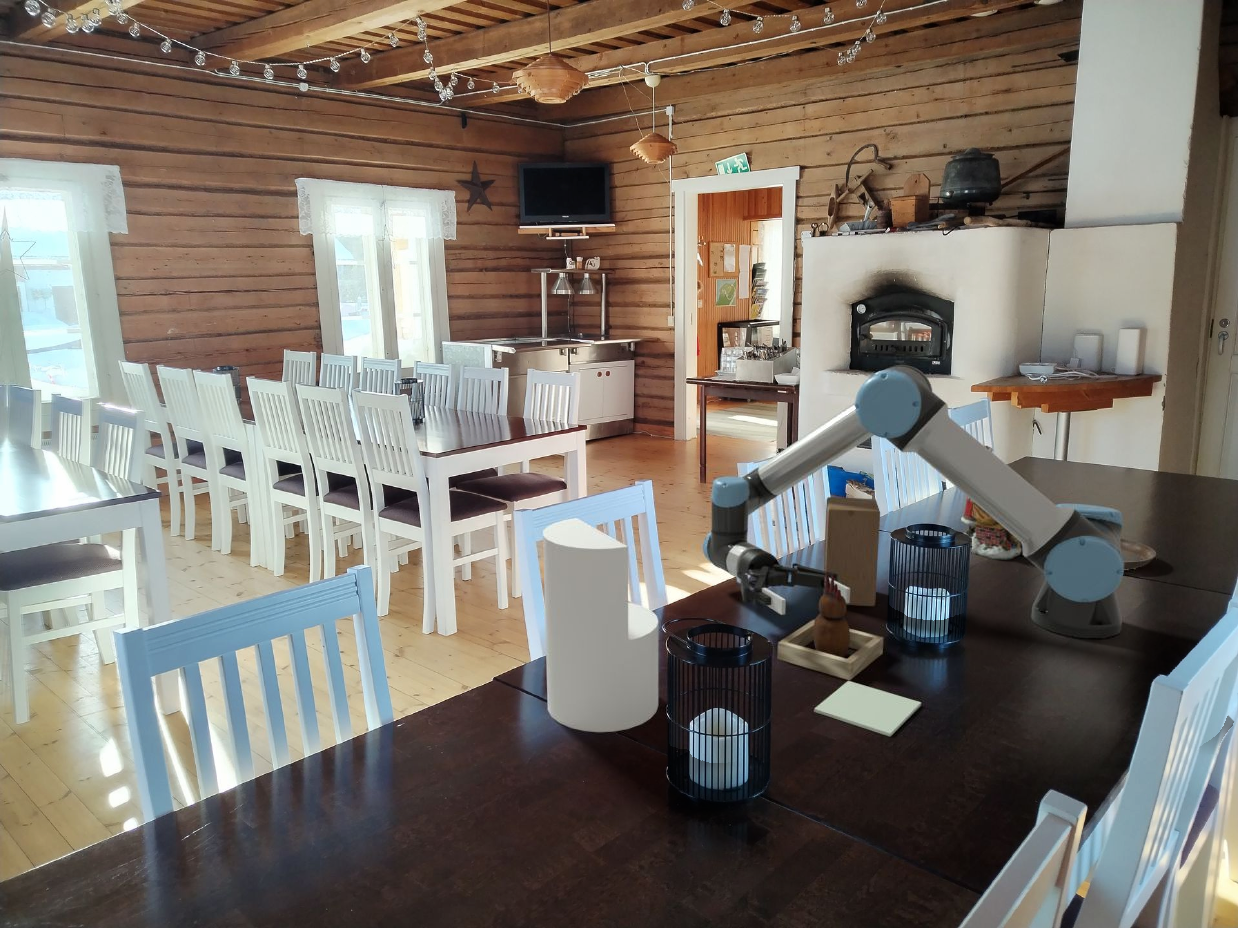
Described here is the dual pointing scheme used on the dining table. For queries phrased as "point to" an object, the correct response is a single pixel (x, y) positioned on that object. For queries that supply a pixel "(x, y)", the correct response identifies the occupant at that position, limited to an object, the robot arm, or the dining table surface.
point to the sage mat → (868, 708)
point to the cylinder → (595, 633)
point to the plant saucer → (1137, 553)
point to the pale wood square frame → (837, 666)
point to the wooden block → (853, 546)
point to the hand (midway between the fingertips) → (816, 601)
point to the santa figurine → (989, 533)
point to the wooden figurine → (831, 622)
